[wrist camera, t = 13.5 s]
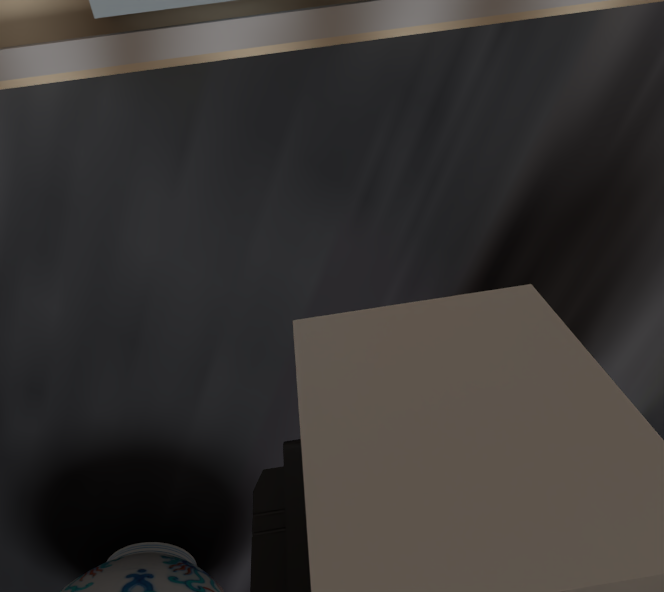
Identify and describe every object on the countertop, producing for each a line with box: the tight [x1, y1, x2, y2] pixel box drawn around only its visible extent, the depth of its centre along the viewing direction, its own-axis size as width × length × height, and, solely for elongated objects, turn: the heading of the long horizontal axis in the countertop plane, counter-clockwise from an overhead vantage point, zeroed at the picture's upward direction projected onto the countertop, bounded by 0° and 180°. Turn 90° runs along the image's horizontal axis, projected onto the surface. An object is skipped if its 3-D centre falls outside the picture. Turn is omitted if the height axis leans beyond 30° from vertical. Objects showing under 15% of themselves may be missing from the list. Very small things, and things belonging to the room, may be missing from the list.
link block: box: [293, 284, 664, 592], centre depth 10 cm, size 5×7×6 cm
